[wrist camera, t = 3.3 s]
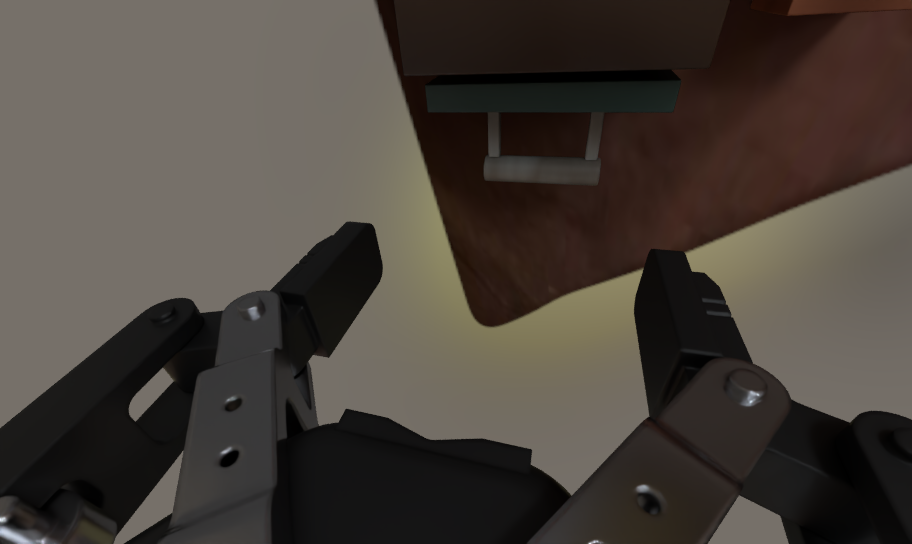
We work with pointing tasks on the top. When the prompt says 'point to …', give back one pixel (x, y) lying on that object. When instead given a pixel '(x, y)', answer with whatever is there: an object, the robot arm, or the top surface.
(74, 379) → the robot arm
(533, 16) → the cabinet
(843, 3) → the block
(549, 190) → the top surface
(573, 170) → the drawer
